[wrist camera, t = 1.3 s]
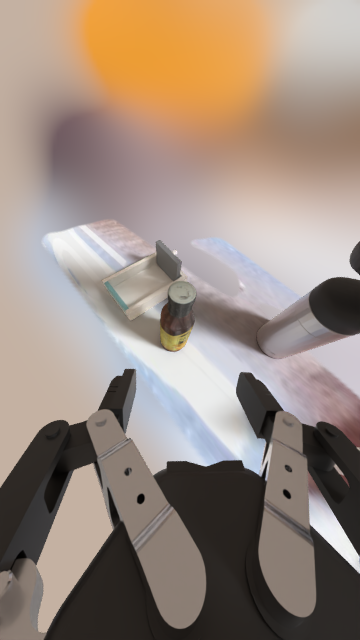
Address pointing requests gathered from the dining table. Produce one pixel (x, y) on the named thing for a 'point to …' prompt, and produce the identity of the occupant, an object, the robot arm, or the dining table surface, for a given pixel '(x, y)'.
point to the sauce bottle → (177, 316)
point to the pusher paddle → (168, 261)
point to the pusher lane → (140, 286)
